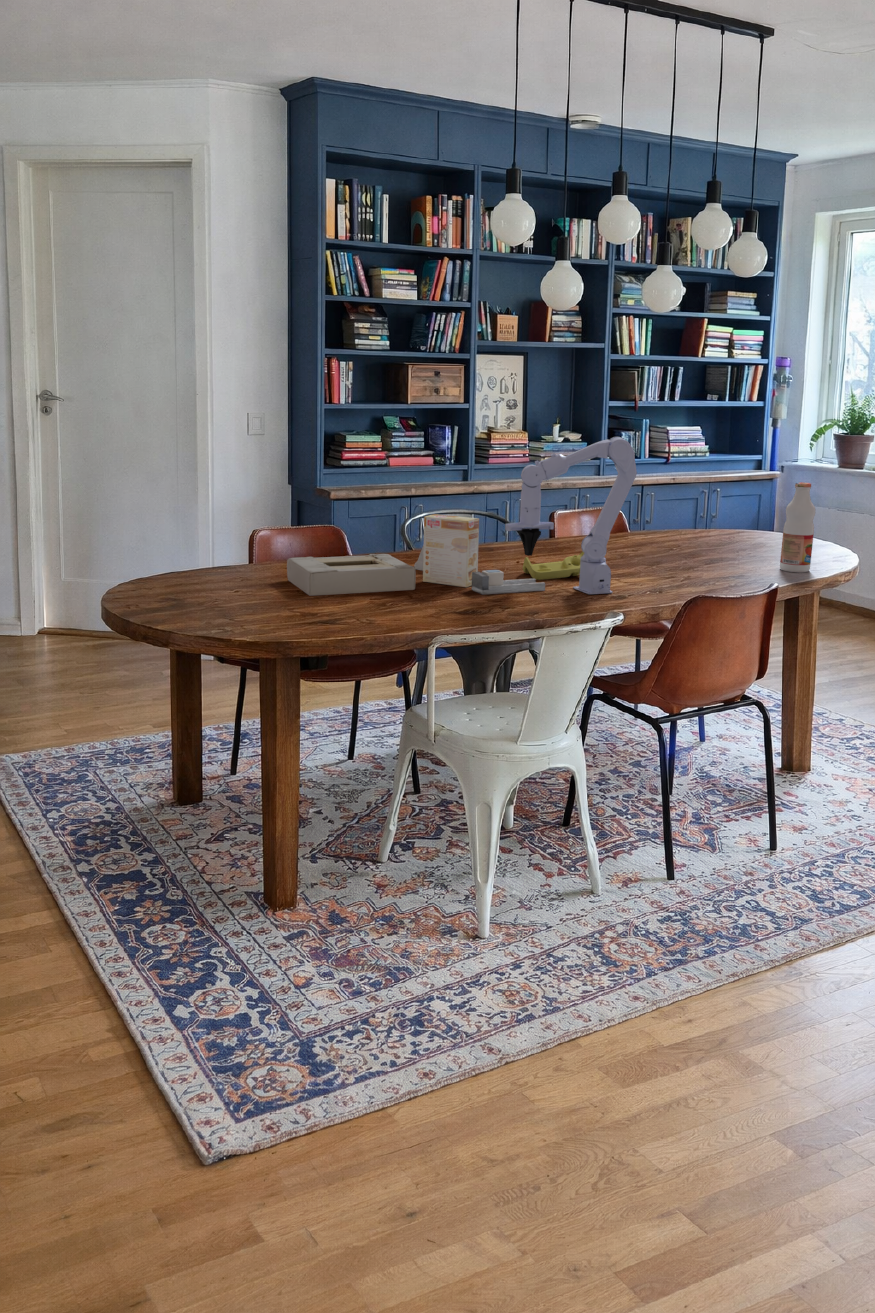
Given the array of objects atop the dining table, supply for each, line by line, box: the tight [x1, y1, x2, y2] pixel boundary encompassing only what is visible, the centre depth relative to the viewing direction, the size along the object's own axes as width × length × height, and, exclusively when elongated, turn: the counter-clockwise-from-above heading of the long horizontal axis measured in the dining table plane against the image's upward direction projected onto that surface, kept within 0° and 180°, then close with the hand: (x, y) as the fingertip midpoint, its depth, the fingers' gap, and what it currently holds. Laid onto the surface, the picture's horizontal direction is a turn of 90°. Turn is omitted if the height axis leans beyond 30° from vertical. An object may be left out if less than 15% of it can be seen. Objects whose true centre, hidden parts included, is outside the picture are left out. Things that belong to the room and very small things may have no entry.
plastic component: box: [522, 551, 584, 581], centre depth 361 cm, size 20×7×10 cm
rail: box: [471, 571, 546, 595], centre depth 337 cm, size 7×20×5 cm, turn 113°
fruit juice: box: [779, 481, 816, 573], centre depth 376 cm, size 9×9×28 cm
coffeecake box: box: [422, 513, 480, 588], centre depth 344 cm, size 15×7×20 cm, turn 59°
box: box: [286, 553, 417, 597], centre depth 340 cm, size 23×8×32 cm
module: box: [481, 569, 505, 586], centre depth 335 cm, size 4×5×5 cm
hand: (528, 555), depth 338 cm, fingers closed
